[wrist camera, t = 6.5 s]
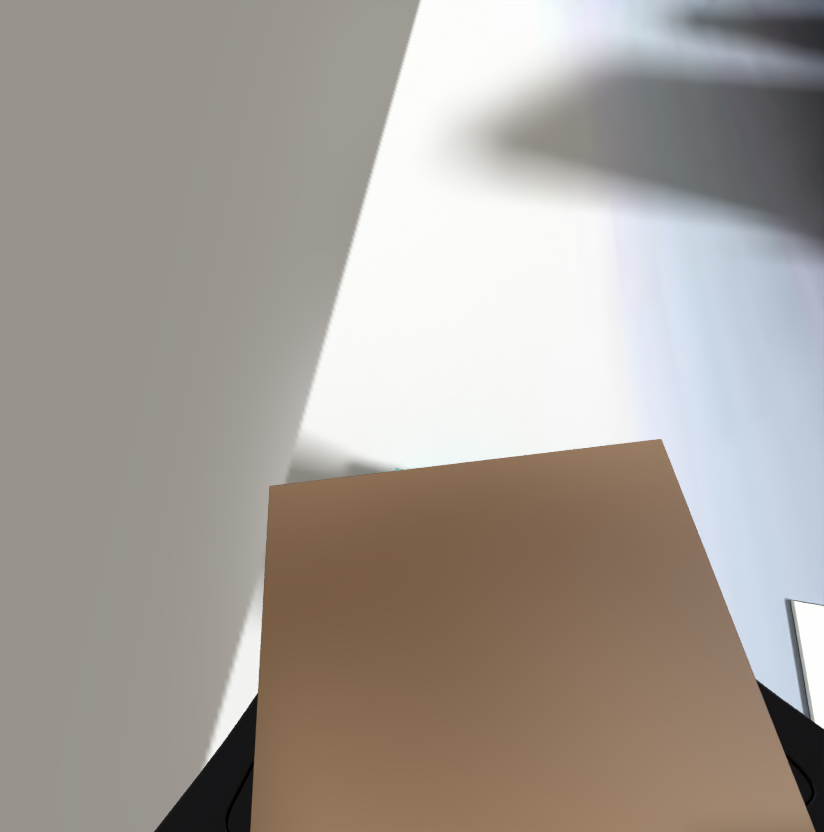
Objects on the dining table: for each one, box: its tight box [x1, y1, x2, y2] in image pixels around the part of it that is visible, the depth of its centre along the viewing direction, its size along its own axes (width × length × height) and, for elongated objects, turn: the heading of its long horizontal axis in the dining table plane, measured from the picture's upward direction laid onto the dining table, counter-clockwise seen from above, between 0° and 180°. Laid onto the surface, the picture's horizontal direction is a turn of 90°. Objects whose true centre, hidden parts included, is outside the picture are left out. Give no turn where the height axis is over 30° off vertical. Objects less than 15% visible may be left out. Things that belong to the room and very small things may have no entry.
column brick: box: [250, 439, 815, 832], centre depth 9 cm, size 5×5×12 cm
